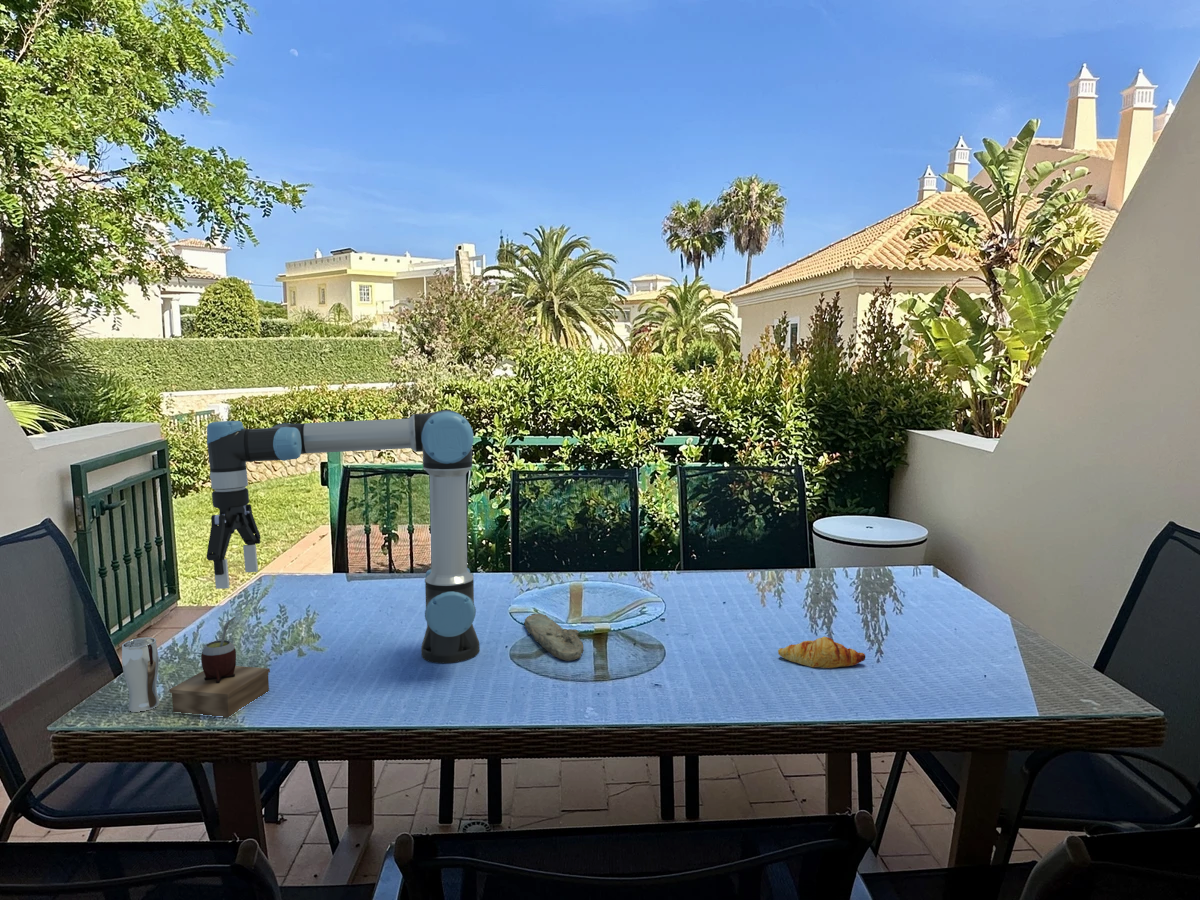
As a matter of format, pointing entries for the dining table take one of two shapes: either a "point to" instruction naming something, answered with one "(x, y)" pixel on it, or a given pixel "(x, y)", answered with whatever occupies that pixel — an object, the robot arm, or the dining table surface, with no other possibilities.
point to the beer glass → (141, 673)
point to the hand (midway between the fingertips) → (237, 579)
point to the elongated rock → (554, 637)
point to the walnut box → (220, 692)
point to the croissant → (821, 654)
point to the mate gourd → (219, 658)
